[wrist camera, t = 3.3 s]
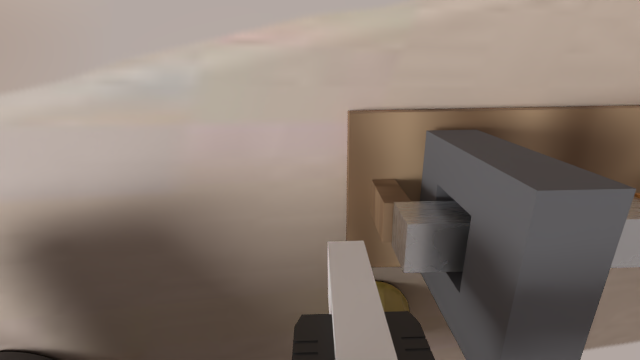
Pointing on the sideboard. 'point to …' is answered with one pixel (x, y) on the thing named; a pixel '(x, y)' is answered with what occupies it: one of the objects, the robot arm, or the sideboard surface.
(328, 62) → the sideboard surface
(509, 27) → the sideboard surface
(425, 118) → the wooden stand
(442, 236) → the light grey bar
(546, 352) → the collar
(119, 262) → the sideboard surface
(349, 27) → the sideboard surface
